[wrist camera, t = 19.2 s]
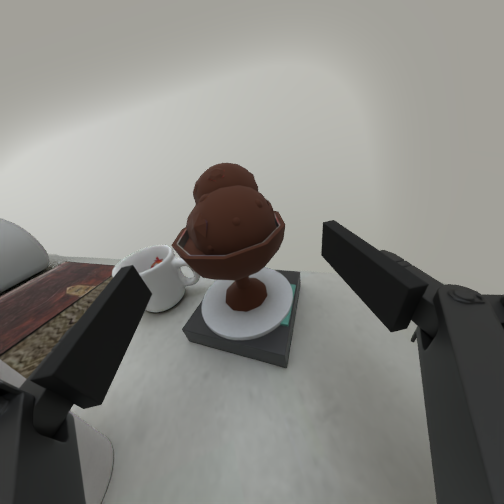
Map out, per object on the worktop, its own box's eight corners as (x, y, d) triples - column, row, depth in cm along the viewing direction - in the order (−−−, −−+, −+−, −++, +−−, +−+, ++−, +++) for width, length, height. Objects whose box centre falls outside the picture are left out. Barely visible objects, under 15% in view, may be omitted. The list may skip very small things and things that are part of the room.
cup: (211, 275, 32) (196, 237, 28) (204, 311, 25) (183, 267, 21) (153, 286, 32) (130, 249, 28) (131, 324, 26) (96, 283, 21)
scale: (300, 283, 27) (299, 268, 25) (286, 368, 17) (284, 352, 16) (229, 276, 31) (225, 262, 29) (188, 341, 22) (179, 326, 20)
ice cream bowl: (198, 285, 26) (149, 175, 18) (267, 259, 28) (251, 153, 20) (211, 351, 17) (125, 196, 9) (308, 305, 20) (309, 152, 12)
